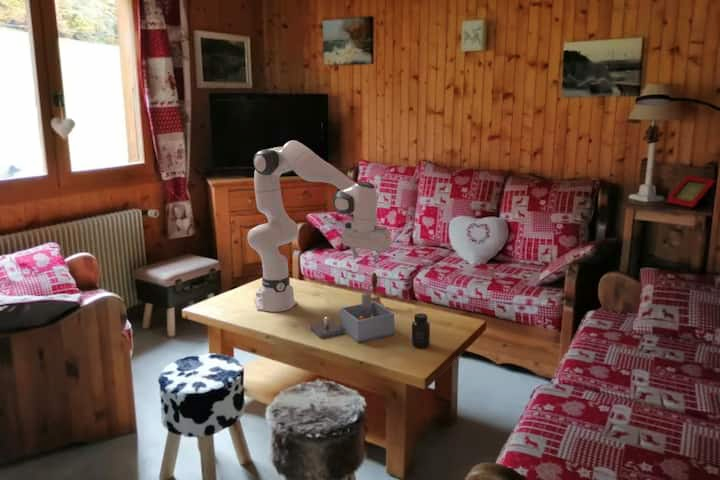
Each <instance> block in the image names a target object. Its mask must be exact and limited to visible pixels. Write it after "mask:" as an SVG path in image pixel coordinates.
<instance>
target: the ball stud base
mask: <svg viewBox="0 0 720 480" xmlns="http://www.w3.org/2000/svg"><path fill="white" fill-rule="evenodd" d="M310 331H311V332H312V333H314V335H316V336H317V337H318V338H319V339H324V338H330V337H335V336H339V335H344V333H345V332H344V331H343V328H342V327H340V325H339V324H338V323H336V322H335V321H334V320H331V319H330V317H329V316H324V317H323V322H319V323H316V324H315V323H314V324H312V325H311V324H310Z"/></svg>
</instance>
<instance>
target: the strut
mask: <svg viewBox="0 0 720 480" xmlns="http://www.w3.org/2000/svg"><path fill="white" fill-rule="evenodd" d="M371 295H372V294H370V293H363V294H361V304H362V316H360V317H359V320H362V319H367V318H372V317H374V316H373V315H371Z"/></svg>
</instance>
